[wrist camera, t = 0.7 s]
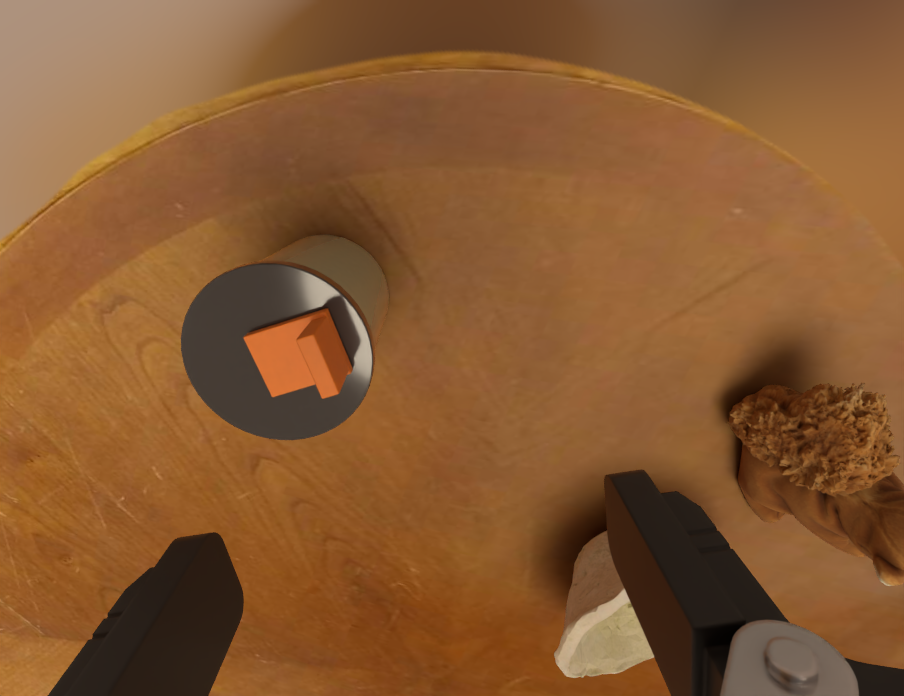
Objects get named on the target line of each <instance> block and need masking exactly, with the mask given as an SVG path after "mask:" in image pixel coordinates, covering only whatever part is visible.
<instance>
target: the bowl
mask: <svg viewBox="0 0 904 696" xmlns="http://www.w3.org/2000/svg"><path fill="white" fill-rule="evenodd" d="M572 578H573V581H572V585H571V588H570V590H569V594H568V600H567V605H566V617H565V624H564V631H563V635H562V637H561V641H560V645H559V647H558V649H557V650H556V651H555V653H554V657H555V662H556V664H557V665H558V667H559V668H560V669H561V670H562V672H563V673H564V674H565V675H566V676H567V677H572V678H577V677H582V678H583V677H584V676H585V675H587V676H597V675H600V674H610V673H613V674H616V673H619V672H622V671H624V670H626V669H628V668H630V667H632V666H634V665H636V664H638V663H640V662H642V661H644V660H647V659H650V658H653V657H654V655H653V652H652V650H651V648H650V646H649V643H648V641H647V639H646V637H645V634H644V632H643V630H642V627H641V625H640V623H639V621H638V618H637V616H636V614H635V612H634V609H633V607H632V605H631V602H630V600H629V598H628V596H627V593H626V591H625V589H624V586H623V584H622V582H621V580H620V577H619V575H618V573H617V571H616V568H615V566H614V563H613V560H612V556H611V552H610V548H609V543H608V535H607V531H605V532H603V533H601V534H599V535H597V536H596V537H594V538H593V539H591V540H590V541H589V542H588V543H587V544H586V545H584V546H583V548H582V550H581V552H580V553H579V554H578V558H577V559H576V561H575V563H574V573H573V577H572Z"/></svg>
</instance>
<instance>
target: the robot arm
mask: <svg viewBox="0 0 904 696" xmlns="http://www.w3.org/2000/svg"><path fill="white" fill-rule="evenodd" d="M604 488H605V504H606V520H607V535H608V543H609V548H610V552H611V556H612V560H613V563H614V566H615V568H616V571H617V573H618V575H619V577H620V580H621V582H622V584H623V586H624V589H625V591H626V593H627V596H628V598H629V600H630V602H631V605H632V607H633V609H634V612H635V614H636V616H637V618H638V621H639V623H640V625H641V627H642V630H643V632H644V634H645V637H646V639H647V641H648V643H649V646H650V648H651V650H652V652H653V655H654V657H655V659H656V662H657V664H658V666H659V668H660V671H661V673H662V675H663V678H664V680H665V682H666V684H667V687H668V689H669V691H670V693H671V696H904V669H898V668H891V667H885V666H878V665H872V664H867V663H862V662H857V661H854V660H850V659H847V658H844V657H843V656H842V655H841V654H840V653H839V652H838V651H837V650H836V649H835V648H834V647H833V646H832V645H830V644H829V643H828V642H827V641H826V640H824V639H822V638H821V637H819V636H818V635H816V634H815V633H813V632H811V631H809V630H807V629H805V628H802V627H800V626H797V625H795V624H791V623H789V621H788V620H787V619H786V618H785V617H784V615H783V614H782V613H781V611H780V610H779V609H778V608H777V606H776V605H775V604H774V602H773V601H772V600H771V598H770V597H769V596H768V594H767V593H766V592H765V591H764V589H763V588H762V587H761V585H760V584H759V583H758V581H757V580H756V579H755V577H754V576H753V575H752V574H751V572H750V571H749V570H748V568H747V567H746V566H745V564H744V563H743V562H742V560H741V559H740V558H739V557H738V555H737V554H736V553H735V551H734V550H733V549H730V547H729V543H728V542H727V541H726V540H725V538H724V537H723V536H722V534H721V533H720V532H719V531H717V530H716V527H715V525H714V524H713V523H712V521H711V520H710V519H709V517H708V516H707V515H706V513H705V512H704V511H703V510H702V508H701V507H700V506H698V505H697V504H695V503H694V502H692V501H691V500H689V499H688V498H686V497H685V496H683V495H682V494H680V493H679V492H677V491H675V492H668V493H661V494H660V492H659V491H658V489H657V488H656V486H655V485H654V483H653V482H652V480H651V479H650V477H649V476H648V474H647V473H646V472H645V471H644V470H636V471H629V472H622V473H616V474H609V475H606V476H605V479H604ZM243 603H244V600H243V591H242V587H241V584H240V582H239V579H238V577H237V574H236V572H235V569H234V567H233V564H232V562H231V559H230V557H229V554H228V552H227V549H226V547H225V544H224V542H223V539H222V538H221V536H220V535H219V534H218V533H214V532H213V533H206V534H200V535H193V536H186V537H180V538H177V539H175V540H174V541H173V542H172V543H171V544H170V546H169V547H168V549H167V550H166V551H165V553H164V554H163V556H162V557H161V559H160V560H159V561H158V563H157V564H156V566H155V567H153V568H150V569H148V570H147V571H146V572H145V573H144V574H143V575H142V576H140V577H139V578H138V579H137V580H136V581H135V582H134V583H132V584H131V585H130V586H129V587H128V588H127V589H126V590H125V591H124V592H123V594H122V595H121V596H120V598H119V599H118V600H117V602H116V603H115V605H114V606H113V607H112V609H111V610H110V611H109V613H108V617H107V619H104V620H103V621H102V622H101V624H100V625H99V626H98V628H97V629H96V631H95V632H94V633H93V638H92V639H91V640H88V641H87V643H86V644H85V646H84V647H83V648H82V650H81V651H80V652H79V654H78V655H77V656H76V658H75V659H74V661H73V662H72V663H71V665H70V666H69V667H68V669H67V670H66V671H65V673H64V674H63V676H62V677H61V678H60V680H59V681H58V682H57V684H56V685H55V687H54V688H53V689H52V691H51V692H50V693H49V695H48V696H208V695H209V693H210V690H211V688H212V686H213V683H214V681H215V679H216V676H217V674H218V672H219V669H220V667H221V665H222V662H223V660H224V658H225V655H226V653H227V651H228V648H229V646H230V644H231V642H232V639H233V637H234V635H235V632H236V630H237V628H238V625H239V623H240V620H241V617H242V613H243Z"/></svg>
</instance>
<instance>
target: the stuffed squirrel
mask: <svg viewBox="0 0 904 696" xmlns="http://www.w3.org/2000/svg"><path fill="white" fill-rule="evenodd" d="M864 385H865V383H861V385H859V386H858V388H857V387H856V386H855V387H854V384H852V386H851V388H849V387H847V388H845V389H844V390H846V392H845V393H843V390H842V387H841V388H838V387H837V386H836V385H834V386H832V385H830V384H825V385H822V384H819V385H816V386H815V387H813V388H812V389H811V390H807V391H806V392H805V393H800V392H797V391H794V389H789V387H786V386H785V387H783V386H782V385H768V386H765V387H763V388H762V389H761V390H760V391H758V392H757V393H756V394H752V395H749V396H746V397H745V398H744V399H742V401H741V402H740V403H737V404H736V405H734V406H733V408H732V410H731V411H730V418H729V421H728V422H726V423H727V424H729V425H730V428H731V429H732V430H733V431H734V434H736V436H737V437H739V438H740V439H741V441H742V443H743V444H742V455H741V462H740V469H739V475H738V483H739V486H740V488H741V490H742V492H743V494H744V496H745V498H746V500H747V502H748V504H749V505H750V507H751V508H752V510H753V511H754V512H755V513H756V514H757V515H758V516H759V517H760V518H761V519H762V520H763V521H764V522H768V523H774V522H776V521H778V520H780V519H781V518H782V517H783V516H784V514H790V515H794V516H795V518H796V519H797V520H798V521H799V522H800V523H801V524H802V525H804V526H805V527H806V528H807V529H809V530H810V531H811V532H812V533H814V534H815V535H817V536H818V537H820V538H821V539H823V540H824V541H825V542H827V543H829V544H830V545H832V546H834V547H835V548H837V549H839V550H841V551H843V552H846V553H848V554H851V555H854V556H857V557H864V556H868V557H869V558H870V559H872V560H873V565H874V568H875V570H876V574H877V577H878V579H879V580H880V581H881V582H882V583H884V584H885V585H889V586H896V585H900V584H903V583H904V485H903V483H902V482H901V481H900V480H899V479H898V477H897V476H896V475H895V474H894V473H893V468H894V467H897V465H898V464H900V463H899V459H900V456H898V455H893V456H892V455H891V454H892V453H893V451H894V446H891V447H890V443H891V441H893V439H894V436H893V434H892V433H891V431H890V430H889V429H890V426H888V425H889V424H890V422H891V416H889V415H887V409H886V404H887V401H886V400H885V397H886V395H885V394H884V395H878V393H875V394H873V393H872V392H863V387H864Z"/></svg>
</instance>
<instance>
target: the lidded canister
mask: <svg viewBox="0 0 904 696" xmlns="http://www.w3.org/2000/svg"><path fill="white" fill-rule="evenodd" d="M388 305H389V291H388V285H387V282H386V278H385V276H384V274H383V271H382V269H381V268H380V266H379V264H378V263H377V262H376V260H375V259H374V258H373V257H372V256H371V255H370V254H369V253H368V252H367V251H366V250H365V249H363V248H362V247H361V246H359V245H357V244H356V243H354V242H352V241H350V240H348V239H345V238H342V237H338V236H333V235H313V236H308V237H304V238H302V239H299V240H297V241H295V242H293V243H292V244H290V245H288V246H286V247H284V248H283V249H281V250H279V251H277V252H275V253H274V254H272V255H270V256H268V257H266V258H265V259H263V260H261V261H257V262H252V263H248V264H244V265H240V266H238V267H236V268H233V269H231V270H229V271H227V272H225V273H223V274H221V275H220V276H218V277H216V278H215V279H213V280H212V281H211V282H210V283H208V284H207V285H206V286H205V287H204V288H203V289H202V290H201V291H200V292H199V293H198V294H197V296H196V297H195V299H194V300H193V302H192V303H191V305H190V307H189V309H188V311H187V314H186V316H185V320H184V323H183V327H182V335H181V351H182V357H183V363H184V366H185V369H186V372H187V375H188V377H189V379H190V381H191V383H192V385H193V387H194V388H195V390H196V391H197V393H198V395H199V396H200V397H201V398H202V400H203V401H204V402H205V403H206V404H207V405H208V406H209V407H210V408H211V409H212V410H213V411H214V412H215V413H216V414H217V415H219V416H220V417H221V418H222V419H224V420H225V421H227V422H228V423H230V424H232V425H233V426H235V427H237V428H239V429H241V430H243V431H245V432H248V433H251V434H254V435H256V436H260V437H265V438H269V439H277V440H297V439H305V438H309V437H314V436H317V435H320V434H322V433H325V432H327V431H329V430H331V429H333V428H335V427H337V426H338V425H340V424H341V423H343V422H344V421H345V420H346V419H347V418H349V417H350V416H351V415H352V414H353V413H354V412H355V410H356V409H357V408H358V407H359V405H360V404H361V402H362V401H363V399H364V397H365V396H366V393H367V391H368V388H369V386H370V383H371V379H372V376H373V372H374V365H375V348H376V345H377V342H378V339H379V336H380V333H381V330H382V327H383V324H384V321H385V318H386V315H387V311H388ZM326 308H328V310H329V312H330V315H331V317H332V320H333V322H334V325H335V327H336V329H337V332H338V334H339V337H340V339H341V341H342V344H343V346H344V349H345V351H346V354H347V356H348V358H349V361H350V363H351V366H352V368H353V370H352V372H351V374H348V375H347V376H346V379H345V381H344V383H343V386H342V388H341V391H340V393H339V394H337V395H334V396H331V397H327V398H324V399H322V398H321V395H320V393H319V391H318V389H317V386H316V384H315V385H312V386H309V387H305V388H302V389H299V390H295V391H292V392H289V393H286V394H282V395H279V396H276V397H272V396H271V394H270V392H269V390H268V388H267V386H266V383H265V381H264V379H263V377H262V375H261V373H260V371H259V369H258V367H257V365H256V363H255V361H254V359H253V357H252V355H251V353H250V351H249V349H248V346H247V344H246V342H245V340H244V338H243V337H244V336H245V335H246V334H247V333H249V332H253V331H256V330H259V329H262V328H265V327H268V326H272V325H275V324H278V323H281V322H284V321H288V320H291V319H294V318H297V317H300V316H303V315H307V314H310V313H313V312H316V311H319V310H323V309H326Z"/></svg>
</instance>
